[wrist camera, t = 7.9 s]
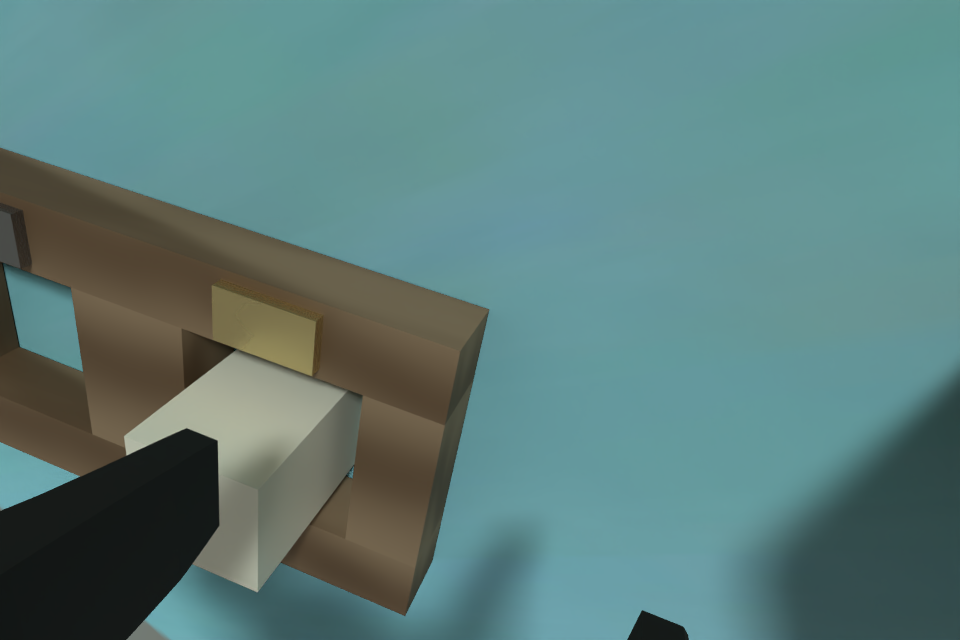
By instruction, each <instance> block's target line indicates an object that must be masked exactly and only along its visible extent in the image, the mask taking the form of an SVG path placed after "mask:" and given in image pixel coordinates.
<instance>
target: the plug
mask: <svg viewBox="0 0 960 640" xmlns="http://www.w3.org/2000/svg"><path fill="white" fill-rule="evenodd" d="M362 398H363V395H361V394H358V393H355V392H352V391H350V390H347V389H344V388H342V387H339V386H336V385H333V384H331V383H328V382H325V381H323V380H320V379H317V378H314V377H312V376H309V375H306V374H304V373H301V372H298V371H296V370H293V369H290V368H287V367H285V366H282V365H279V364H277V363H274V362H271V361H268V360H266V359H263V358H260V357H258V356H255V355H252V354H249V353H247V352H244V351H241V350H239V349H237V350H235V351H234V352H233V353H232V354H230V355H229V356H228V357H226V358H225V359H224V360H222V361H221V362H220V363H219V364H217V365H216V366H215V367H213V368H212V369H211V370H209V371H208V372H207V373H206V374H204V375H203V376H202V377H200V378H199V379H198V380H196V381H195V382H194V383H193V384H191V385H190V386H189V387H187V388H186V389H185V390H183V391H182V392H181V393H180V394H178V395H177V396H176V397H174V398H173V399H172V400H170V401H169V402H168V403H167V404H165V405H164V406H163V407H161V408H160V409H159V410H157V411H156V412H155V413H153V414H152V415H151V416H150V417H148V418H147V419H146V420H144V421H143V422H142V423H140V424H139V425H138V426H137V427H135V428H134V429H133V430H131V431H130V432H129V433H127V434H126V435H125V436H124V440H125V448H126V455H129V454H131V453H133V452H135V451H137V450H139V449H141V448H144V447H146V446H148V445H150V444H152V443H154V442H157V441H159V440H161V439H163V438H165V437H167V436H170V435H172V434H174V433H176V432H179V431H181V430H183V429H186V428H188V429H190V430H193V431H195V432H198V433H200V434H203V435H205V436H208V437H210V438H213V439H215V440H218V474H219V523H220V526H219V527H218V528H217V530H216V531H215V533H214V534H213V536H212V537H211V538H210V540H209V541H208V543H207V544H206V546H205V547H204V548H203V550H202V551H201V553H200V554H199V556H198V557H197V558H196V560H195V561H194V562H193V565H195V566H198V567H200V568H202V569H205V570H207V571H209V572H212V573H214V574H216V575H218V576H221V577H223V578H225V579H228V580H230V581H232V582H235V583H237V584H239V585H242V586H244V587H246V588H248V589H251V590H253V591H255V592H258V591H259V590H260V589H261V587H262V586H263V585H264V583H265V582H266V581H267V579H268V578H269V577H270V575H271V574H272V573H273V571H274V570H275V569H276V567H277V566H278V565H279V563H280V562H281V561H282V559H283V558H284V557H285V556H286V554H287V553H288V552H289V550H290V549H291V548H292V546H293V545H294V544H295V542H296V541H297V540H298V538H299V537H300V536H301V534H302V533H303V532H304V530H305V529H306V528H307V526H308V525H309V524H310V522H311V521H312V520H313V518H314V517H315V516H316V514H317V513H318V512H319V510H320V509H321V508H322V506H323V505H324V504H325V502H326V501H327V500H328V498H329V497H330V496H331V494H332V493H333V492H334V490H335V489H336V488H337V486H338V485H339V484H340V483H341V481H342V480H343V479H344V477H345V476H346V475H347V473H348V472H349V471H350V469H351V468H352V467H353V465H354V464H355V455H356V447H357V439H358V431H359V423H360V415H361V406H362Z"/></svg>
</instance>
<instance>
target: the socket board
mask: <svg viewBox="0 0 960 640" xmlns="http://www.w3.org/2000/svg"><path fill="white" fill-rule="evenodd" d="M0 203H3V204H6V205H9V206H12V207H15V208H18V209H21V210H23V215H24V220H25V226H26V232H27V237H28V243H29V248H30V254H31V260H32V264H31V265H29V266H27V267H24V268H22V270H25V271H27V272H30V273H33V274H35V275H38V276H41V277H43V278H46V279H49V280H52V281H54V282H57V283H60V284H62V285H65V286H68V287H71V292H72V298H73V305H74V312H75V319H76V326H77V332H78V339H79V346H80V353H81V360H82V366H83V372H81V371H79V370H76V369H74V368H71V367H68V366H66V365H63V364H61V363H58V362H56V361H53V360H51V359H48V358H46V357H43V356H41V355H38V354H36V353H33V352H31V351H28V350H25V349H23V348H20V347H19V344H18V339H17V334H16V329H15V325H14V320H13V315H12V310H11V305H10V300H9V295H8V290H7V285H6V280H5V275H4V271H3V266H2V262H1V261H0V442H1V443H4V444H6V445H8V446H11V447H13V448H15V449H18V450H20V451H22V452H25V453H27V454H29V455H32V456H34V457H36V458H39V459H41V460H43V461H46V462H48V463H50V464H53V465H55V466H57V467H60V468H62V469H64V470H67V471H69V472H71V473H74V474H76V475H78V476H83V475H85V474H87V473H90V472H92V471H94V470H96V469H98V468H101V467H103V466H105V465H107V464H109V463H111V462H114V461H116V460H118V459H120V458H122V457H124V456H126V448H125V440H124V436H125V435H126V434H127V433H129V432H130V431H131V430H133V429H134V428H135V427H137V426H138V425H139V424H140V423H142V422H143V421H144V420H146V419H147V418H148V417H150V416H151V415H152V414H153V413H155V412H156V411H157V410H159V409H160V408H161V407H163V406H164V405H165V404H167V403H168V402H169V401H170V400H172V399H173V398H174V397H176V396H177V395H178V394H180V393H181V392H182V391H183V390H185V389H186V388H187V387H189V386H190V385H191V384H193V383H194V382H195V381H196V380H198V379H199V378H200V377H202V376H203V375H204V374H206V373H207V372H208V371H209V370H211V369H212V368H213V367H215V366H216V365H217V364H219V363H220V362H221V361H222V360H224V359H225V358H226V357H228V356H229V355H230V354H232V353H233V352H234V347H231V346H228V345H226V344H223V343H220V342H217V341H215V340H213V326H212V285H213V284H214V283H216V282H218V281H219V280H224V281H227V282H230V283H232V284H235V285H238V286H241V287H244V288H247V289H250V290H253V291H255V292H258V293H261V294H264V295H267V296H270V297H273V298H275V299H278V300H281V301H284V302H287V303H290V304H293V305H296V306H298V307H301V308H304V309H307V310H310V311H313V312H316V313H318V314H321V315H324V316H323V329H322V342H321V355H320V368H319V370H318V371H317V372H316V373H315V374H314V375H313V376H312V377H314V378H317V379H320V380H323V381H325V382H328V383H331V384H333V385H336V386H339V387H342V388H344V389H347V390H350V391H352V392H355V393H358V394H361V395H363V398H362V406H361V415H360V423H359V431H358V439H357V447H356V455H355V464H354V472H353V479H352V478H349V477H347V476H345V477H344V479H343V480H342V481H341V483H340V484H339V485H338V486H337V488H336V489H335V490H334V492H333V493H332V494H331V496H330V497H329V498H328V500H327V501H326V502H325V504H324V505H323V506H322V508H321V509H320V510H319V512H318V513H317V514H316V516H315V517H314V518H313V520H312V521H311V522H310V524H309V525H308V526H307V528H306V529H305V530H304V532H303V533H302V534H301V536H300V537H299V538H298V540H297V541H296V542H295V544H294V545H293V546H292V548H291V549H290V550H289V552H288V553H287V554H286V556H285V557H284V558H283V559H282V561H281V563H283V564H285V565H288V566H290V567H292V568H295V569H297V570H299V571H302V572H304V573H306V574H309V575H311V576H313V577H316V578H318V579H320V580H323V581H325V582H327V583H330V584H332V585H334V586H337V587H339V588H341V589H344V590H346V591H348V592H351V593H353V594H355V595H358V596H360V597H362V598H364V599H367V600H369V601H371V602H374V603H376V604H378V605H381V606H383V607H385V608H388V609H390V610H392V611H395V612H397V613H399V614H402V615H404V616H405V615H406V613H407V611H408V609H409V607H410V605H411V603H412V601H413V599H414V597H415V595H416V593H417V591H418V589H419V587H420V585H421V583H422V581H423V579H424V577H425V575H426V573H427V571H428V569H429V567H430V565H431V563H432V560H433V556H434V551H435V547H436V542H437V538H438V534H439V529H440V525H441V520H442V516H443V512H444V507H445V503H446V498H447V494H448V489H449V485H450V481H451V476H452V472H453V467H454V463H455V459H456V454H457V450H458V445H459V441H460V436H461V432H462V428H463V423H464V419H465V414H466V410H467V406H468V401H469V397H470V392H471V388H472V383H473V379H474V375H475V370H476V366H477V361H478V357H479V353H480V348H481V344H482V339H483V335H484V330H485V326H486V322H487V317H488V313H489V309H486V308H483V307H480V306H477V305H474V304H471V303H468V302H465V301H462V300H459V299H456V298H453V297H450V296H447V295H444V294H441V293H438V292H434V291H431V290H428V289H425V288H422V287H419V286H416V285H413V284H410V283H407V282H404V281H401V280H398V279H395V278H392V277H389V276H386V275H383V274H380V273H377V272H374V271H371V270H368V269H365V268H362V267H359V266H356V265H353V264H350V263H347V262H344V261H341V260H338V259H335V258H332V257H329V256H326V255H323V254H320V253H317V252H314V251H311V250H308V249H304V248H301V247H298V246H295V245H292V244H289V243H286V242H283V241H280V240H277V239H274V238H271V237H268V236H265V235H262V234H259V233H256V232H253V231H250V230H247V229H244V228H241V227H238V226H235V225H232V224H229V223H226V222H223V221H220V220H217V219H214V218H211V217H208V216H205V215H202V214H199V213H196V212H193V211H190V210H187V209H184V208H181V207H178V206H175V205H171V204H168V203H165V202H162V201H159V200H156V199H153V198H150V197H147V196H144V195H141V194H138V193H135V192H132V191H129V190H126V189H123V188H120V187H117V186H114V185H111V184H108V183H105V182H102V181H99V180H96V179H93V178H90V177H87V176H84V175H81V174H78V173H75V172H72V171H69V170H66V169H63V168H60V167H57V166H54V165H51V164H48V163H45V162H41V161H38V160H35V159H32V158H29V157H26V156H23V155H20V154H17V153H14V152H11V151H8V150H5V149H2V148H0ZM8 265H9V264H8ZM16 268H17V267H16ZM19 269H20V268H19ZM241 351H242V350H241ZM244 352H245V351H244ZM249 354H250V353H249ZM252 355H253V354H252ZM260 358H261V357H260ZM263 359H264V358H263ZM268 361H269V360H268ZM271 362H272V361H271ZM279 365H280V364H279ZM282 366H283V365H282ZM287 368H288V367H287ZM290 369H291V368H290ZM298 372H299V371H298ZM306 375H307V374H306ZM309 376H310V375H309Z"/></svg>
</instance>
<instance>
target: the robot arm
mask: <svg viewBox="0 0 960 640" xmlns="http://www.w3.org/2000/svg"><path fill="white" fill-rule="evenodd" d="M219 526H220V523H219V474H218V440H215V439H213V438H210V437H208V436H205V435H203V434H200V433H198V432H195V431H193V430H190V429H188V428H186V429H183V430H181V431H179V432H176V433H174V434H172V435H170V436H167V437H165V438H163V439H161V440H159V441H157V442H154V443H152V444H150V445H148V446H146V447H144V448H141V449H139V450H137V451H135V452H133V453H131V454H129V455H126V456H124V457H122V458H120V459H118V460H116V461H114V462H111V463H109V464H107V465H105V466H103V467H101V468H98V469H96V470H94V471H92V472H90V473H87V474H85V475H83V476H81V477H78V478H76V479H74V480H72V481H70V482H67V483H65V484H63V485H61V486H58V487H56V488H54V489H52V490H49V491H47V492H45V493H43V494H40V495H38V496H36V497H33V498H31V499H29V500H26V501H24V502H21V503H19V504H16V505H14V506H11V507H9V508H7V509H4V510H2V511H0V640H126V639H127V638H128V637H129V636H130V635H131V634H132V633H133V632H134V631H135V630H136V629H137V627H138V626H139V625H140V624H141V623H142V622H143V621H144V620H145V619H146V618H147V617H148V615H149V614H150V613H151V612H152V611H153V610H154V609H155V608H156V607H157V605H158V604H159V603H160V602H161V601H162V600H163V599H164V598H165V597H166V596H167V594H168V593H169V592H170V591H171V590H172V589H173V588H174V587H175V585H176V584H177V583H178V582H179V581H180V580H181V578H182V577H183V576H184V574H185V573H186V572H187V570H188V569H189V568H190V566H191V565H192V564H193V562H194V561H195V560H196V558H197V557H198V556H199V554H200V553H201V551H202V550H203V548H204V547H205V546H206V544H207V543H208V541H209V540H210V538H211V537H212V536H213V534H214V533H215V531H216V530H217V528H218V527H219ZM627 640H689V639H688V634H687V632H686V630H685V629H684V627H683V626H680V625H678V624H675V623H673V622H670V621H668V620H665V619H663V618H660V617H658V616H655V615H653V614H650V613H648V612H645V611H643V610H642V611H641V613H640V615H639V617H638V619H637V621H636V623H635V625H634V627H633V629H632V631H631V633H630V635H629V637H628V639H627Z"/></svg>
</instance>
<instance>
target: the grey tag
mask: <svg viewBox="0 0 960 640" xmlns="http://www.w3.org/2000/svg"><path fill="white" fill-rule="evenodd" d="M0 261H1V262H3V263H6V264H9V265H11V266H14V267H17V268H20V269H22V268H24V267H27V266H29V265H31V264H32V260H31V254H30V248H29V243H28V237H27V232H26V226H25V220H24V215H23V210H21V209H18V208H15V207H12V206H9V205H6V204H3V203H0Z"/></svg>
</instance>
